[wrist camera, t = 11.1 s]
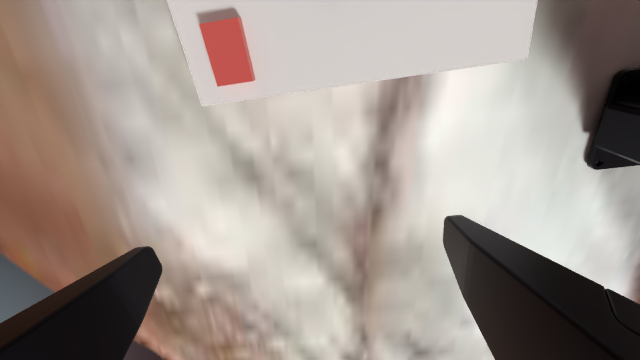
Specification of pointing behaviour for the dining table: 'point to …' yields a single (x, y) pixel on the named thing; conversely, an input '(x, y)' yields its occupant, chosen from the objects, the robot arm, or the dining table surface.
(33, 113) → the dining table surface
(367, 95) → the dining table surface
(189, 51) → the socket plate
